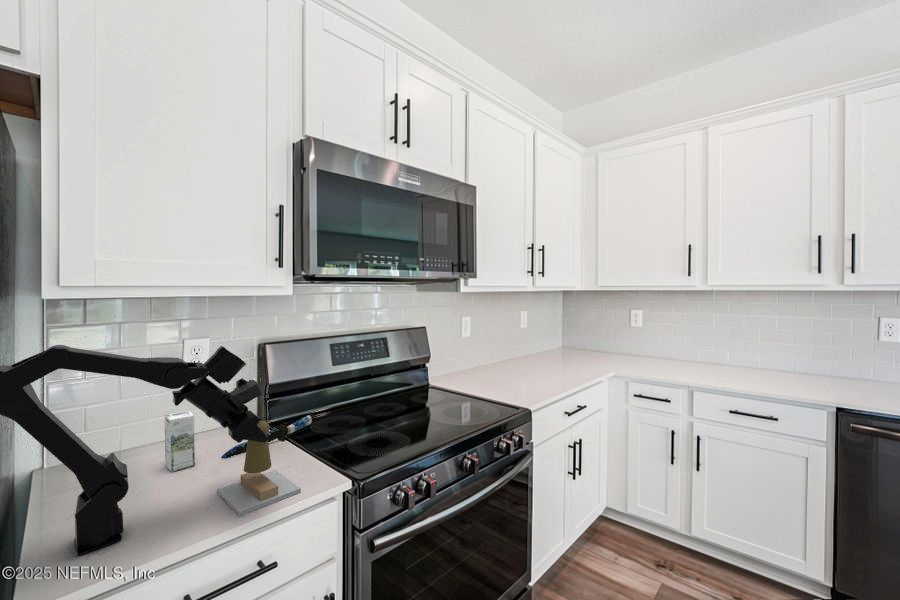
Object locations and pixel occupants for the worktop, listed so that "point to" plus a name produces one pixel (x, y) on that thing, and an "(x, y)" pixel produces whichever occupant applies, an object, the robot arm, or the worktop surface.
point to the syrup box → (179, 440)
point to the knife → (273, 435)
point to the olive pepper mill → (258, 453)
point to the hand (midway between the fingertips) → (263, 437)
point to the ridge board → (250, 501)
